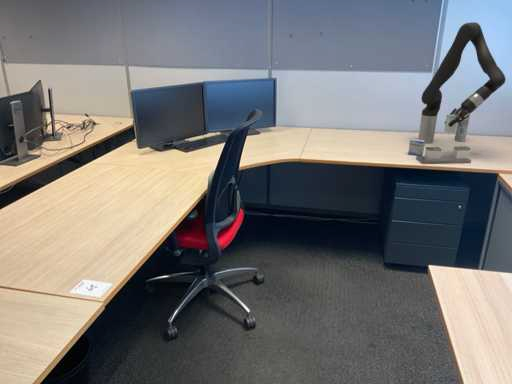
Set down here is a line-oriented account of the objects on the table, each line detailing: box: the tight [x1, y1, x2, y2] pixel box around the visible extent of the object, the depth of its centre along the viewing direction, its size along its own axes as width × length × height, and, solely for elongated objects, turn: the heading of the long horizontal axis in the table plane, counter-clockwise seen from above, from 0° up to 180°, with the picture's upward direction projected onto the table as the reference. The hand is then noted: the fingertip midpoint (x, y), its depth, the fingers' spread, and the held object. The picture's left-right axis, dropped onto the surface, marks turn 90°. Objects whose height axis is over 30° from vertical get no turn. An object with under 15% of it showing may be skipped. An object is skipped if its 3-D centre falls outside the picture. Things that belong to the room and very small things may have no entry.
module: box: [443, 114, 457, 134], centre depth 241 cm, size 4×5×9 cm
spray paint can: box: [454, 113, 471, 142], centre depth 273 cm, size 6×6×20 cm
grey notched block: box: [415, 146, 472, 165], centre depth 237 cm, size 9×27×8 cm, turn 92°
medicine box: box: [407, 138, 426, 157], centre depth 248 cm, size 8×4×9 cm, turn 62°
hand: (447, 124), depth 241 cm, fingers closed on module, 4 cm apart
